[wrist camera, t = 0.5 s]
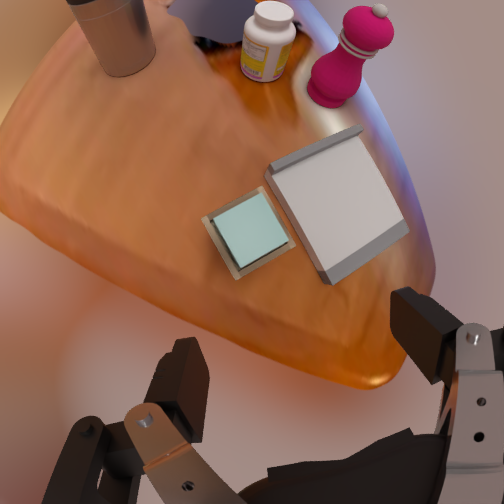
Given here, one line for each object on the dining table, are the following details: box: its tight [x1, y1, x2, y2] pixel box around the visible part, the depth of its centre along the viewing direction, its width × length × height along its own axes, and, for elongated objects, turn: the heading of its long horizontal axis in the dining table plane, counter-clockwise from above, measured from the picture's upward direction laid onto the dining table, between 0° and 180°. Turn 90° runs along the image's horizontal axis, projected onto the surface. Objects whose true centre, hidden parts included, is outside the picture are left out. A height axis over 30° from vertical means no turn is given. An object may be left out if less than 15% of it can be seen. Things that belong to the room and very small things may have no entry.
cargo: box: [213, 192, 289, 268], centre depth 21 cm, size 4×4×3 cm
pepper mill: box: [307, 4, 394, 108], centre depth 27 cm, size 7×7×20 cm
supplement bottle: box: [241, 1, 296, 82], centre depth 30 cm, size 7×7×13 cm
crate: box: [201, 186, 296, 280], centre depth 28 cm, size 6×6×13 cm
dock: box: [264, 124, 410, 285], centre depth 34 cm, size 16×14×5 cm
